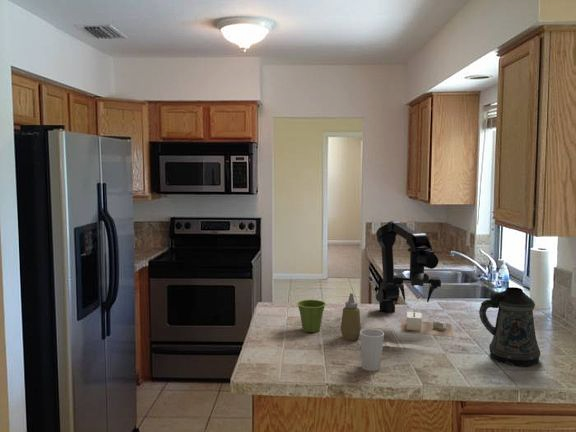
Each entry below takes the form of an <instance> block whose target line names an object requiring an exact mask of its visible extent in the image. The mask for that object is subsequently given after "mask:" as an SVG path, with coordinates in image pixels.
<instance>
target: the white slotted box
mask: <svg viewBox="0 0 576 432" xmlns="http://www.w3.org/2000/svg"><path fill="white" fill-rule="evenodd" d="M422 314H423V313H422V312H416V311H415V312H414V311H406V320H407V329H408V330H421V326H422V322H423V321H422V320H423V315H422Z"/></svg>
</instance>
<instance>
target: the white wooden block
mask: <svg viewBox="0 0 576 432" xmlns="http://www.w3.org/2000/svg"><path fill="white" fill-rule="evenodd" d="M432 322H433V329H437V330H441V331H444V330H446V324H447V322H445V321H443V320H437V319H435V320H433V321H432Z"/></svg>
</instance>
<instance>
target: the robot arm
mask: <svg viewBox="0 0 576 432" xmlns="http://www.w3.org/2000/svg"><path fill="white" fill-rule="evenodd" d="M375 233H376V234H375V235H376V240H377V242H378V244H379V246H380V248H381V265H382V267H381V268H382V280H381V282H380V285H379V290H378V292H377V293H376V294H375V299H376V301H377V302H379V312H381V313H385V314H389V313H395V312H396V303H395V302H398V300H399V298H400V292H401V295H402V296H401V297H402V299H403V301H404V302H405V301H406V293H405V285H404V283H407V284H408V283H410V285H411V286H418V287H423V286H424V285H425V284H427V285H428V290H427V296H426V302H427V303H429V302H430V299H431V296H432V294H433V292H434V291H435V290H437V289H438V288H440V287H442V280H441V278H440V277H439V276H430V274H429V273H425V268H428V269H430V270H432V269H435V268H437V267H438V265H439V257H438V256H437V255H436V254H435V251H434V250H433V245H431V242H430V239H429V237H428V235H427V233H425V232H422V231H416V230H413V229H411V228H409V226H407V225H405V224H403V223H402V222H401V221H399V220H390V221H388V222H387V223H386V224H384V225H382V226H380V227H379V228H378V229H377V230H376V232H375ZM397 236H400V237H401V238H403V239H404V240H405V243H406V245H407V246H408V247H409V248H408V249H407V252H410V253H409V277H404V275H401V274H400V275H399V274H395V269H394V267H395V266H394V252H393V251H394V250H393V247H394V245H395V243H396V241H397Z"/></svg>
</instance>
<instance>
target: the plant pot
mask: <svg viewBox="0 0 576 432" xmlns="http://www.w3.org/2000/svg"><path fill="white" fill-rule="evenodd" d="M296 305H297V307H298V311H299V315H300V321H301V327H302V330H303V331H304V332H305V333H317V332H319V331H320V330H321V326H322V320H323V315H324V311H325V306H326V305H327V303H326V302H325V301H323V300H318V299H304V300H303V299H302V300H298V301H297V303H296Z"/></svg>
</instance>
